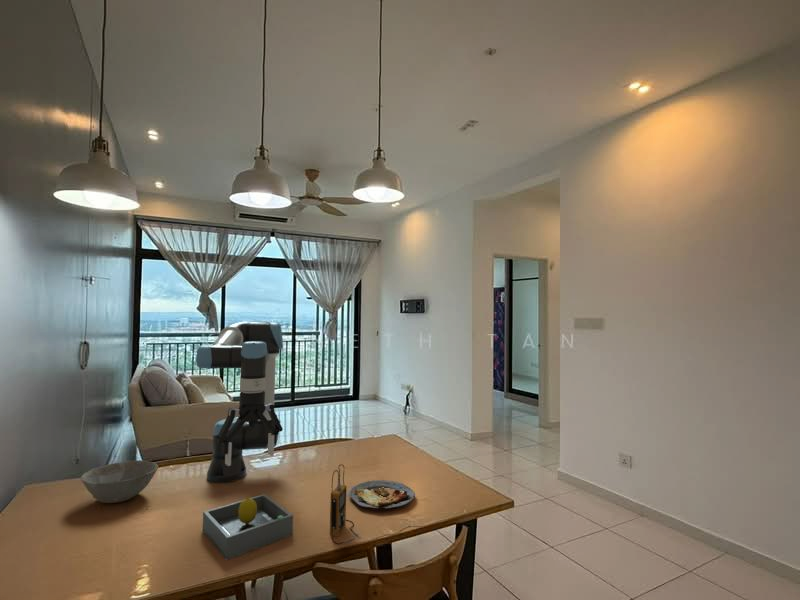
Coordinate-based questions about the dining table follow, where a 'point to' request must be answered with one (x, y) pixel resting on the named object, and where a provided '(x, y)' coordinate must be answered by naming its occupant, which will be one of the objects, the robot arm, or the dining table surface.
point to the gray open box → (249, 537)
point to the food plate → (371, 500)
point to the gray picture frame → (237, 526)
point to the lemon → (247, 511)
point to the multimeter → (338, 509)
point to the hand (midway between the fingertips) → (250, 459)
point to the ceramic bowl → (119, 480)
